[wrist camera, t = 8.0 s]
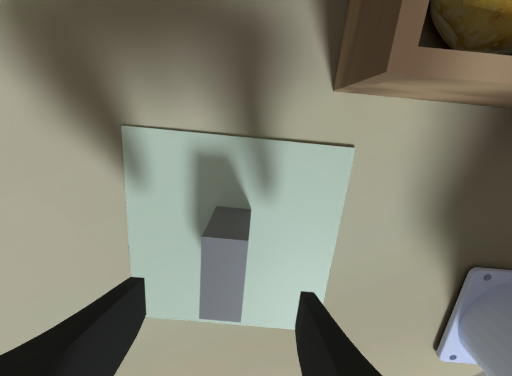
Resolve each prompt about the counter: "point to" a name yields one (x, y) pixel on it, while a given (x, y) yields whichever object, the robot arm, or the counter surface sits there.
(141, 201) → the lid
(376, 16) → the box
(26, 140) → the counter surface
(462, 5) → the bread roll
